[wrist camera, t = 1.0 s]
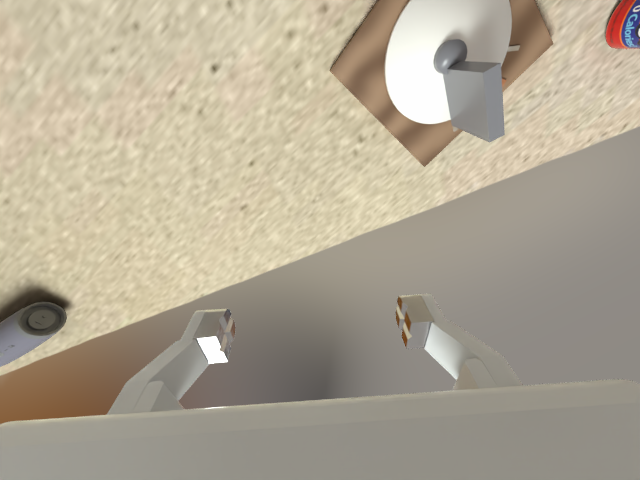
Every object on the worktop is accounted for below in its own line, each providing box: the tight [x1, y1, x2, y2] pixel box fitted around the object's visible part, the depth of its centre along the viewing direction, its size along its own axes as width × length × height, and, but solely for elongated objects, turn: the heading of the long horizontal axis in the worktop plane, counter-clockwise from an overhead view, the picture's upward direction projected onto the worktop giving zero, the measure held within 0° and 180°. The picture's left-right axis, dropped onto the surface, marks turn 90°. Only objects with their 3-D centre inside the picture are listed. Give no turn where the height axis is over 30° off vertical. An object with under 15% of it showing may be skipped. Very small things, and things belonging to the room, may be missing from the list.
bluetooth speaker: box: [0, 302, 67, 367], centre depth 60 cm, size 23×9×10 cm, turn 121°
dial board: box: [330, 0, 553, 167], centre depth 38 cm, size 24×24×2 cm
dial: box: [384, 0, 512, 142], centre depth 33 cm, size 19×18×11 cm
